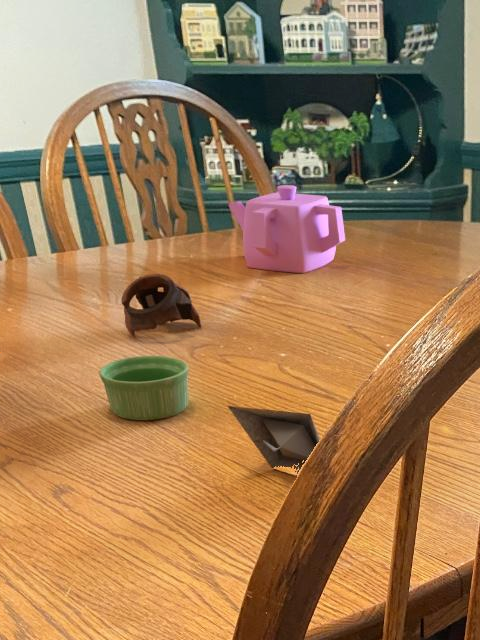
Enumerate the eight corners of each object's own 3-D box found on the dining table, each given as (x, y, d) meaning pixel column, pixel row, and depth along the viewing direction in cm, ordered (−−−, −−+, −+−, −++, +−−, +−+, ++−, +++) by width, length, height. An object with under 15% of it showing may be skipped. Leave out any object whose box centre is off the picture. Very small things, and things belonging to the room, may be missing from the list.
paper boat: (369, 448, 87) (350, 462, 78) (332, 501, 89) (310, 520, 80) (265, 372, 86) (235, 377, 77) (230, 427, 88) (196, 438, 79)
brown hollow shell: (219, 334, 122) (194, 287, 115) (162, 374, 121) (133, 329, 113) (175, 293, 128) (148, 246, 121) (120, 331, 126) (90, 286, 119)
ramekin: (190, 421, 95) (184, 381, 92) (100, 425, 93) (92, 383, 91) (196, 392, 102) (191, 354, 100) (113, 395, 101) (106, 356, 98)
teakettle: (259, 277, 148) (252, 195, 141) (230, 256, 161) (223, 180, 154) (355, 269, 155) (353, 191, 148) (321, 249, 167) (317, 176, 161)
